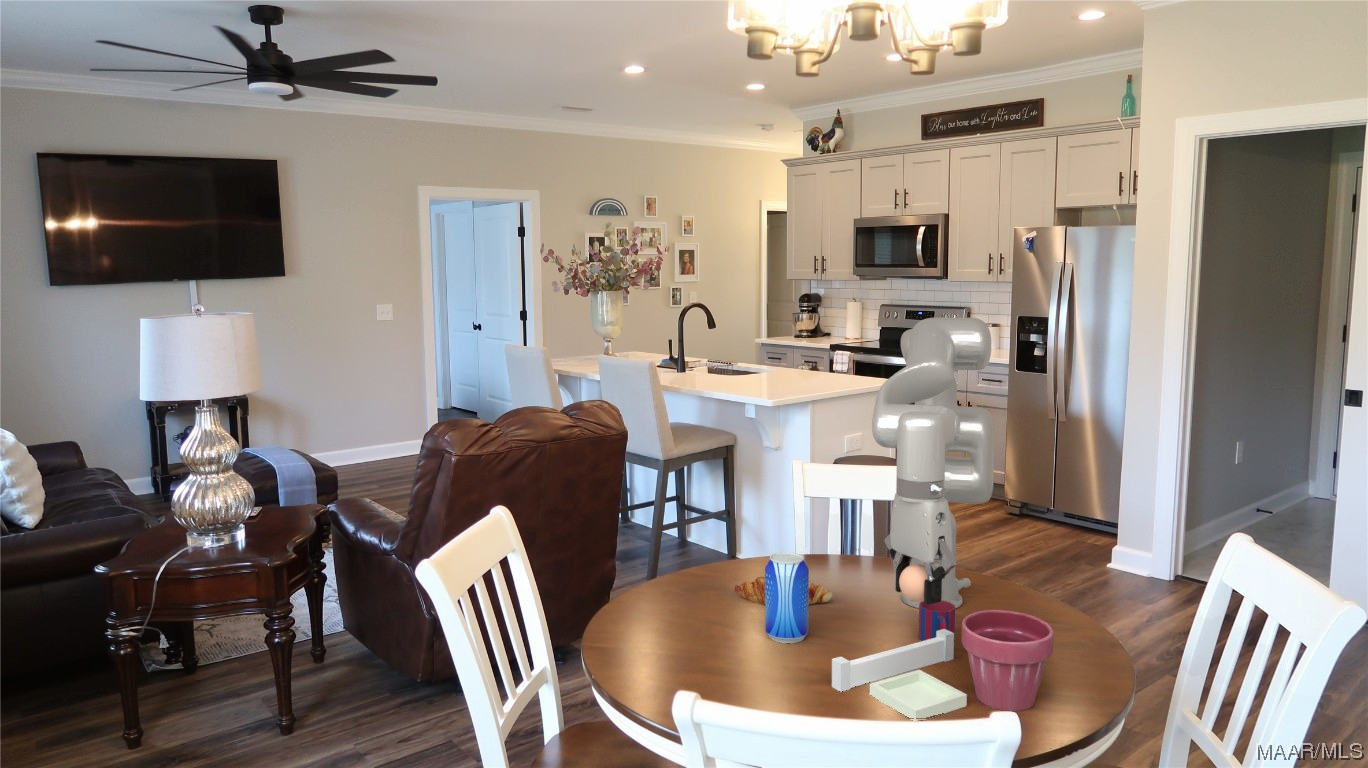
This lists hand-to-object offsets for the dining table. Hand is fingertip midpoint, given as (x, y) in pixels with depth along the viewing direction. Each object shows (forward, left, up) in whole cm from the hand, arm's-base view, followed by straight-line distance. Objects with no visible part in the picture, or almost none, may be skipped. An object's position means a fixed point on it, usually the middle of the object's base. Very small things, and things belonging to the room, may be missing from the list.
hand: (918, 595), depth 149 cm
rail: (-4, -10, -18) cm, 21 cm away
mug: (-20, -16, -18) cm, 31 cm away
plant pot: (-13, +7, -18) cm, 23 cm away
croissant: (-7, -49, -18) cm, 53 cm away
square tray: (0, 0, -18) cm, 18 cm away
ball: (0, 0, -1) cm, 1 cm away
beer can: (+3, -33, -18) cm, 37 cm away
